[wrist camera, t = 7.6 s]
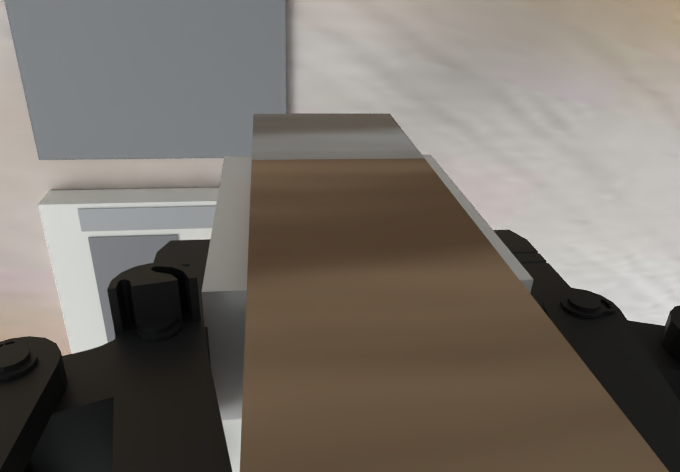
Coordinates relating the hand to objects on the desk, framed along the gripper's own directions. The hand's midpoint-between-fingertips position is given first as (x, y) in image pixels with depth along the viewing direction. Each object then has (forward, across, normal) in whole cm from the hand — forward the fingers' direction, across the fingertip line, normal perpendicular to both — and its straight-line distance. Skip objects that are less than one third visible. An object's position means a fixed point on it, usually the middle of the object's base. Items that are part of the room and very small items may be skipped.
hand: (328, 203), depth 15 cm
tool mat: (+9, -6, +3) cm, 11 cm away
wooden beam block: (+2, 0, 0) cm, 2 cm away
